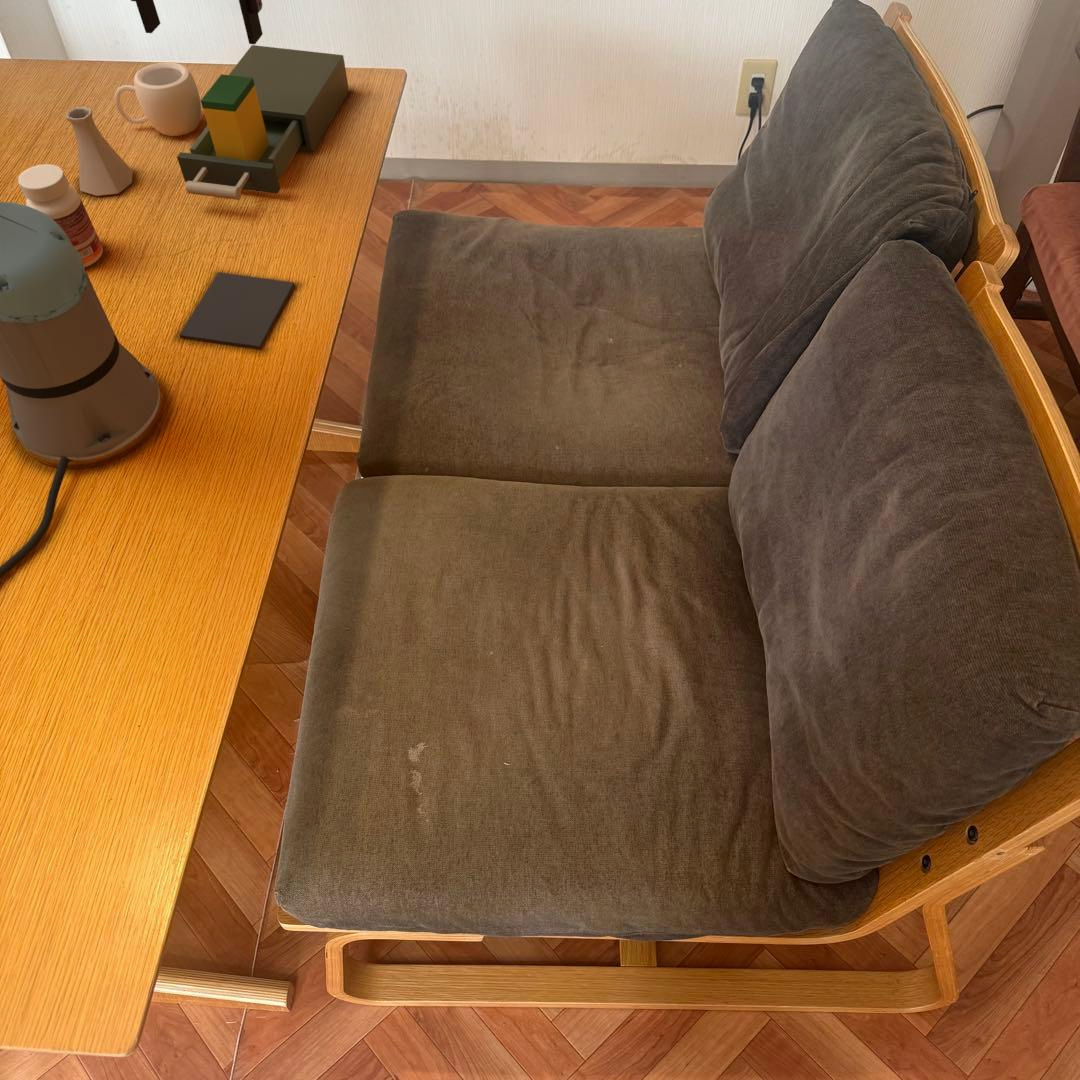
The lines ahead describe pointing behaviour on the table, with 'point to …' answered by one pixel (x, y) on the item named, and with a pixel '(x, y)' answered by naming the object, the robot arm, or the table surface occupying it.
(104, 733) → the table surface
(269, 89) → the cabinet
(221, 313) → the mat
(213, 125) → the sponge
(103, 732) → the table surface
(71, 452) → the robot arm
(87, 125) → the flask
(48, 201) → the pill bottle
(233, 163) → the drawer
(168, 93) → the mug
